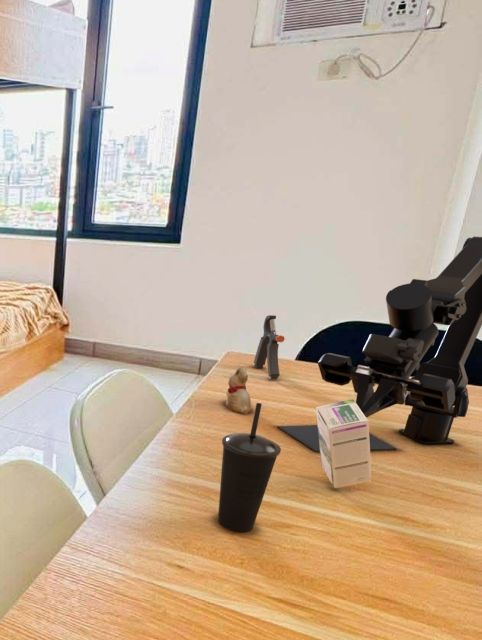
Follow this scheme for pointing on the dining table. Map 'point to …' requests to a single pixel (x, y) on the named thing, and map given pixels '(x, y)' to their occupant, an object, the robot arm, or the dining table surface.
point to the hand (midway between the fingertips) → (356, 418)
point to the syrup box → (344, 443)
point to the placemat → (311, 437)
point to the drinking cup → (244, 476)
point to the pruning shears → (269, 348)
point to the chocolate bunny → (238, 392)
